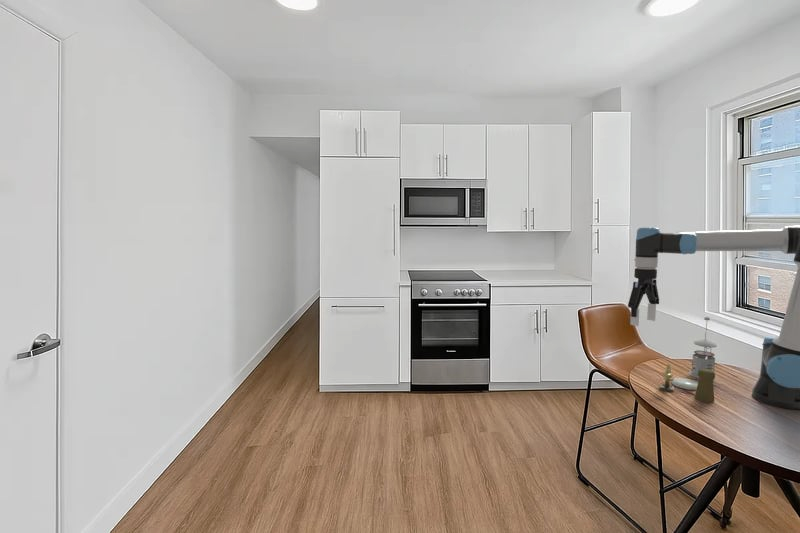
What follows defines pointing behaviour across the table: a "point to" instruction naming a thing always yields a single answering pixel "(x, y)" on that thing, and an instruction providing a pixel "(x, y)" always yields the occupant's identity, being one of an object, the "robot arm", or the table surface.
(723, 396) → the table surface
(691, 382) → the dish
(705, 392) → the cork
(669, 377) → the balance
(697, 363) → the french press
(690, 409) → the table surface
